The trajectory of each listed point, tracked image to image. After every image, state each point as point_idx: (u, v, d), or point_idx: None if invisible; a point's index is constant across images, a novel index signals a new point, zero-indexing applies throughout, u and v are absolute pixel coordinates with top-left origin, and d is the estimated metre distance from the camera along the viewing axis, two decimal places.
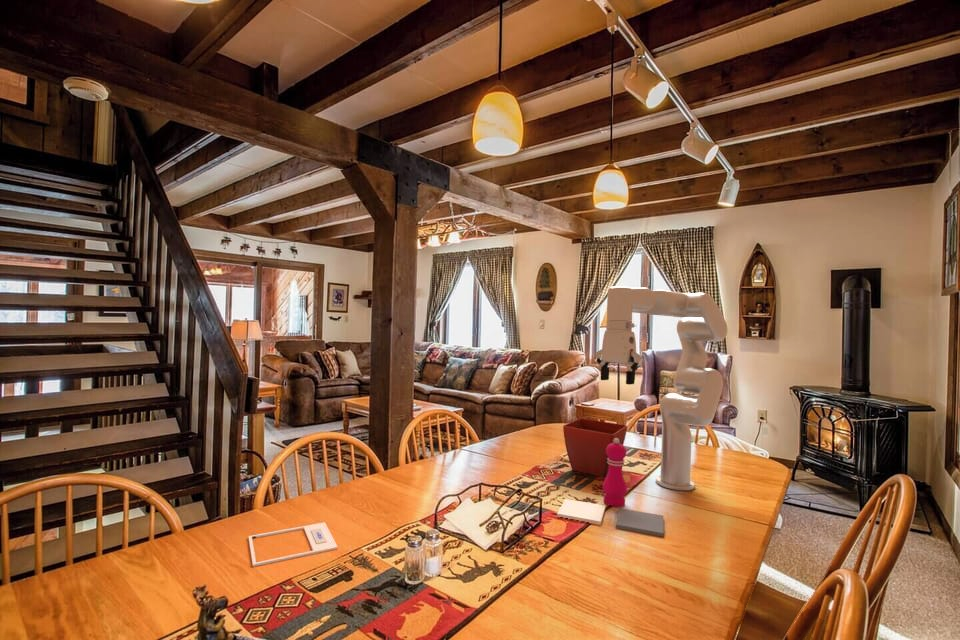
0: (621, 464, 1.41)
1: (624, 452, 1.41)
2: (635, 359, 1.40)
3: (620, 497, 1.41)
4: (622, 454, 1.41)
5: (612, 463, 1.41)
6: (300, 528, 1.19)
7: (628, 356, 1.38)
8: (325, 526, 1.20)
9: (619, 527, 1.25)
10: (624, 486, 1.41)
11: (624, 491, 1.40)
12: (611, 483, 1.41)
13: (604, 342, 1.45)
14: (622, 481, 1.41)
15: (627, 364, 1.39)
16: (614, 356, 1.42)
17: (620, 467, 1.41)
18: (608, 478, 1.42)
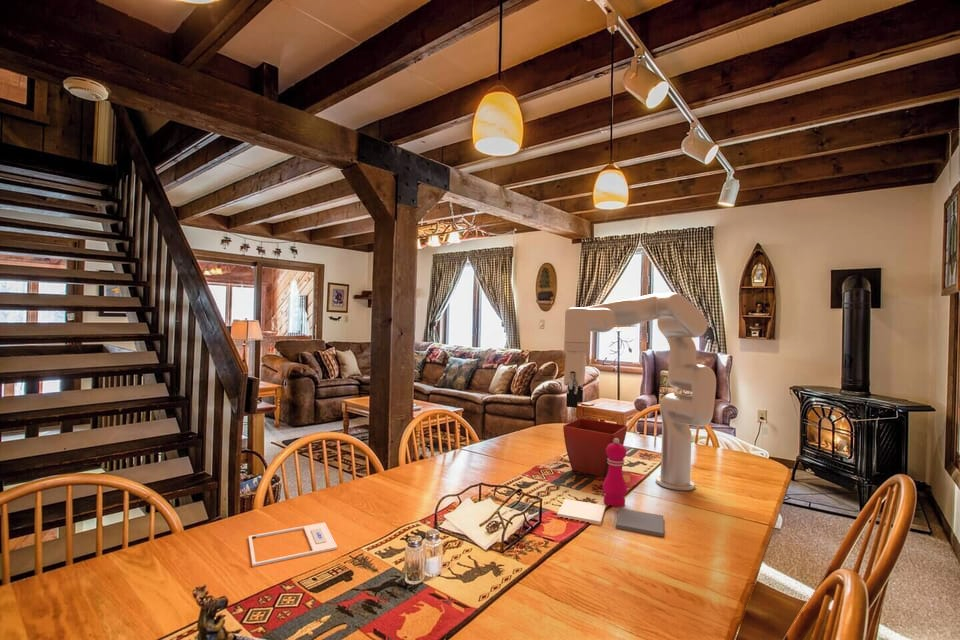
0: (621, 464, 1.41)
1: (624, 452, 1.41)
2: None
3: (620, 497, 1.41)
4: (622, 454, 1.41)
5: (612, 463, 1.41)
6: (300, 528, 1.19)
7: None
8: (325, 526, 1.20)
9: (619, 527, 1.25)
10: (624, 486, 1.41)
11: (624, 491, 1.40)
12: (611, 483, 1.41)
13: (581, 366, 1.37)
14: (622, 481, 1.41)
15: (582, 383, 1.45)
16: (583, 378, 1.41)
17: (620, 467, 1.41)
18: (608, 478, 1.42)
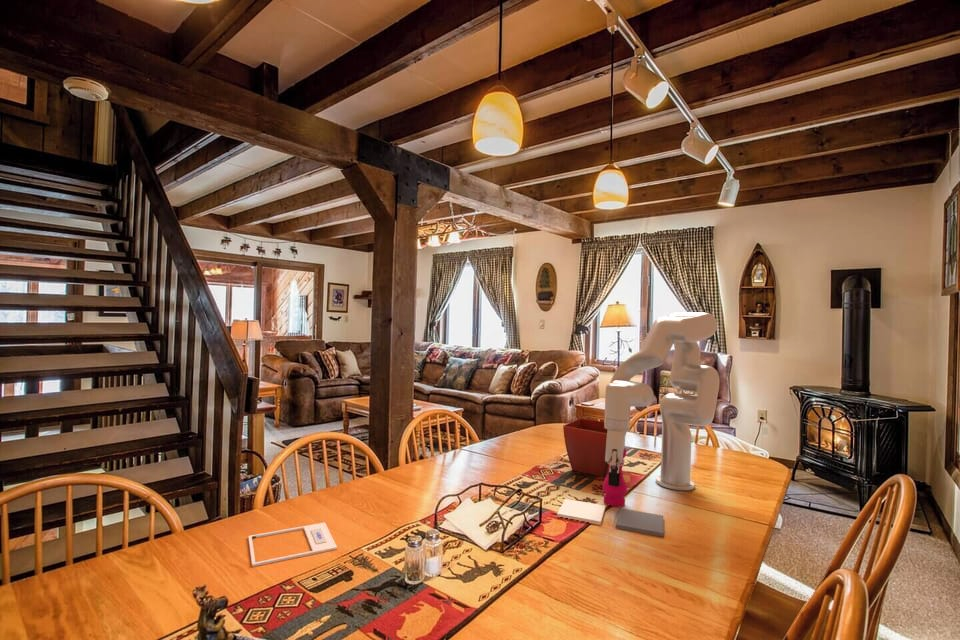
0: (621, 464, 1.41)
1: (624, 452, 1.41)
2: None
3: (620, 497, 1.41)
4: None
5: None
6: (300, 528, 1.19)
7: None
8: (325, 526, 1.20)
9: (619, 527, 1.25)
10: (624, 486, 1.41)
11: (624, 491, 1.40)
12: None
13: (623, 443, 1.39)
14: (622, 481, 1.41)
15: None
16: None
17: (620, 467, 1.41)
18: (608, 478, 1.42)
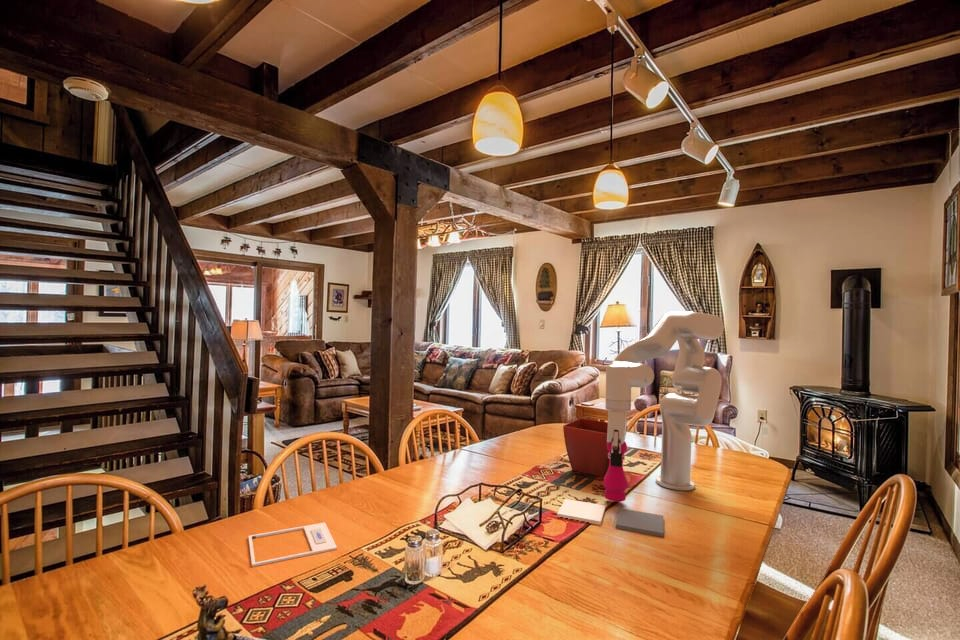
0: (622, 458, 1.41)
1: (625, 446, 1.41)
2: None
3: (621, 492, 1.41)
4: (623, 448, 1.41)
5: None
6: (300, 528, 1.19)
7: None
8: (325, 526, 1.20)
9: (619, 527, 1.25)
10: (625, 481, 1.41)
11: (625, 486, 1.41)
12: (612, 478, 1.41)
13: (624, 424, 1.39)
14: (623, 476, 1.41)
15: None
16: (625, 434, 1.43)
17: None
18: (609, 473, 1.42)
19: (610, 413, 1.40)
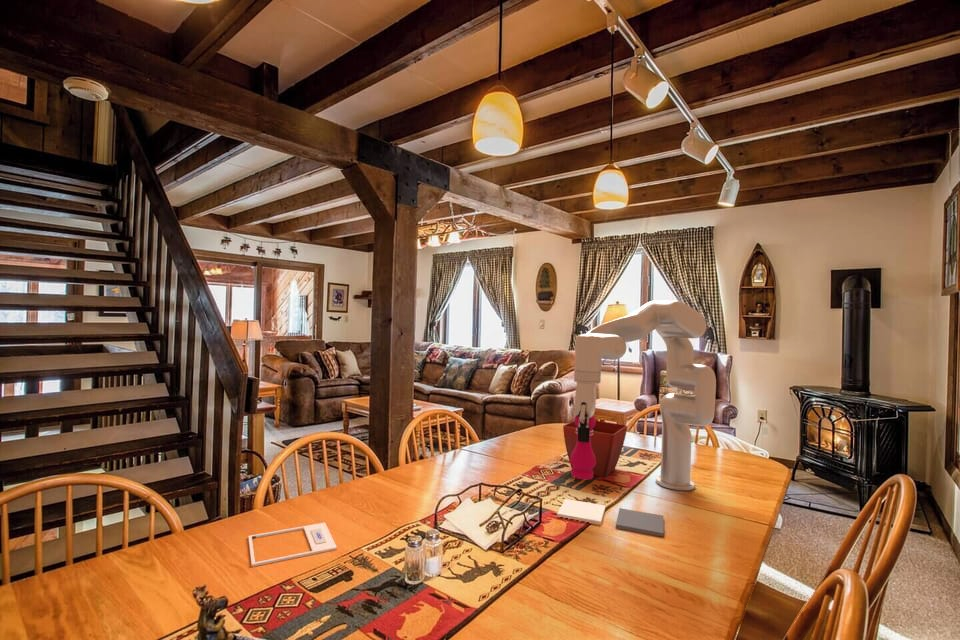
0: (590, 434, 1.33)
1: (593, 421, 1.33)
2: None
3: (588, 469, 1.32)
4: (591, 422, 1.32)
5: None
6: (300, 528, 1.19)
7: None
8: (325, 526, 1.20)
9: (619, 527, 1.25)
10: (592, 457, 1.32)
11: (592, 462, 1.32)
12: (579, 454, 1.32)
13: (592, 397, 1.31)
14: (590, 452, 1.33)
15: None
16: (594, 408, 1.35)
17: (589, 437, 1.33)
18: (576, 449, 1.34)
19: (578, 385, 1.32)
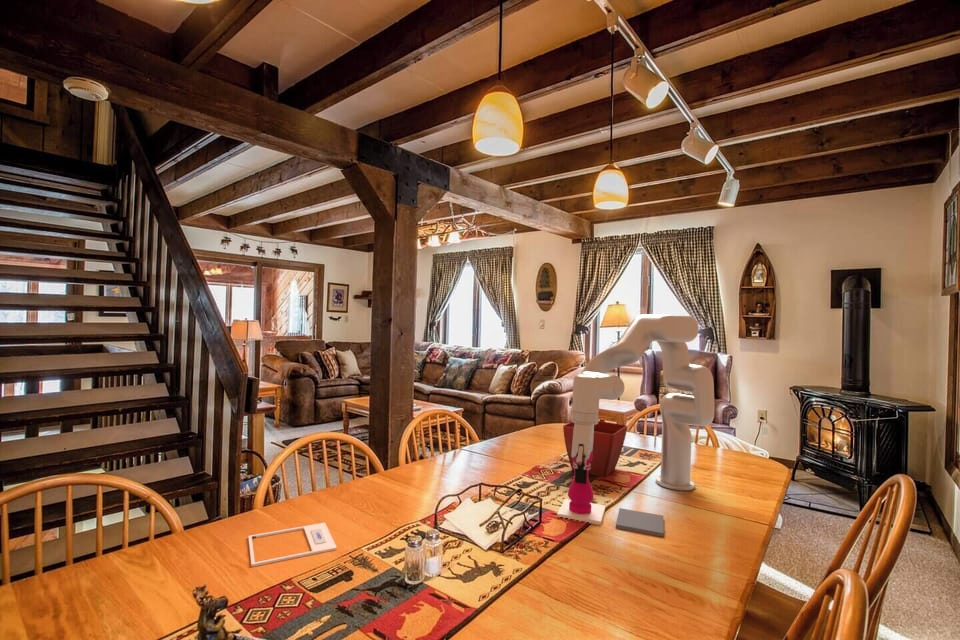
0: (587, 468, 1.33)
1: (590, 455, 1.32)
2: None
3: (586, 503, 1.32)
4: None
5: None
6: (300, 528, 1.19)
7: None
8: (325, 526, 1.20)
9: (619, 527, 1.25)
10: (590, 492, 1.32)
11: (590, 497, 1.32)
12: (577, 489, 1.32)
13: (590, 438, 1.31)
14: (588, 486, 1.32)
15: None
16: (591, 449, 1.34)
17: None
18: (573, 483, 1.33)
19: (575, 426, 1.31)
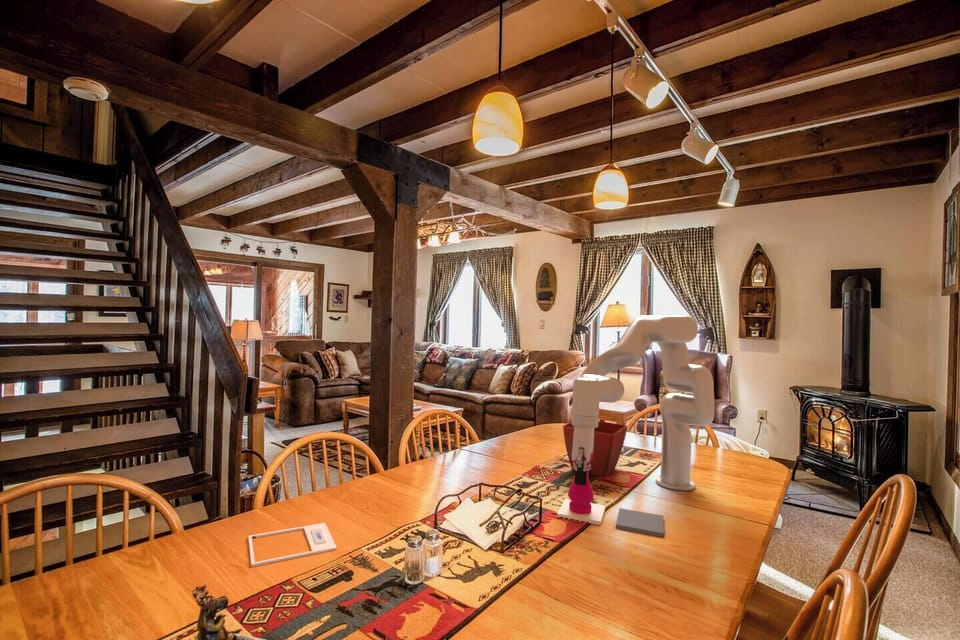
0: (587, 469, 1.32)
1: None
2: None
3: (586, 504, 1.32)
4: None
5: None
6: (300, 528, 1.19)
7: None
8: (325, 526, 1.20)
9: (619, 527, 1.25)
10: (590, 492, 1.32)
11: (590, 497, 1.32)
12: (577, 489, 1.32)
13: (590, 441, 1.31)
14: (588, 487, 1.32)
15: None
16: (592, 452, 1.35)
17: None
18: (573, 483, 1.33)
19: (576, 429, 1.32)
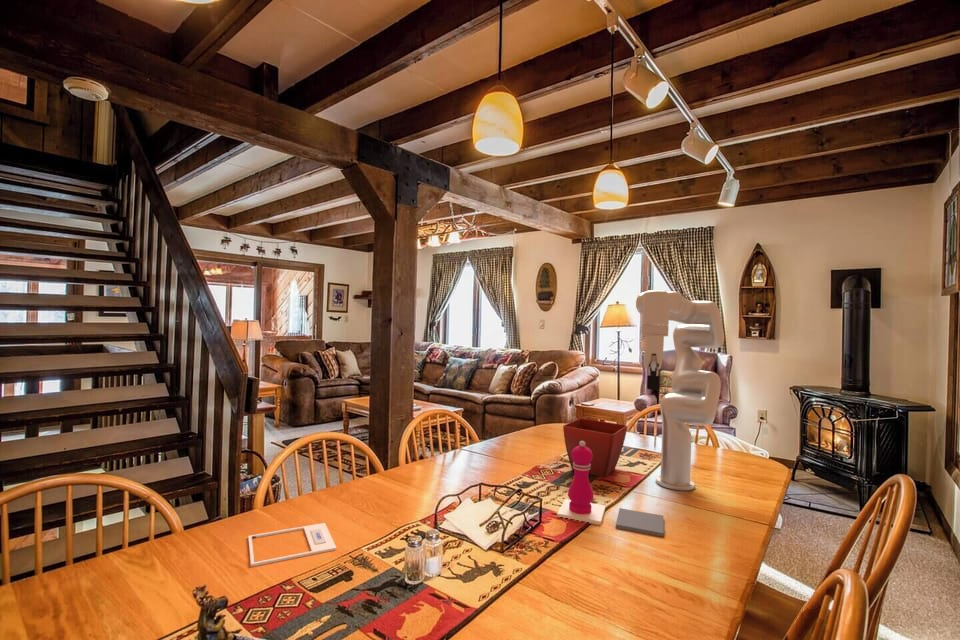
0: (587, 468, 1.32)
1: (590, 456, 1.32)
2: None
3: (586, 504, 1.32)
4: (588, 457, 1.32)
5: (577, 467, 1.33)
6: (300, 528, 1.19)
7: None
8: (325, 526, 1.20)
9: (619, 527, 1.25)
10: (590, 492, 1.32)
11: (590, 497, 1.32)
12: (577, 489, 1.32)
13: (662, 348, 1.37)
14: (588, 487, 1.32)
15: None
16: None
17: (586, 472, 1.33)
18: (573, 483, 1.33)
19: (648, 337, 1.38)
